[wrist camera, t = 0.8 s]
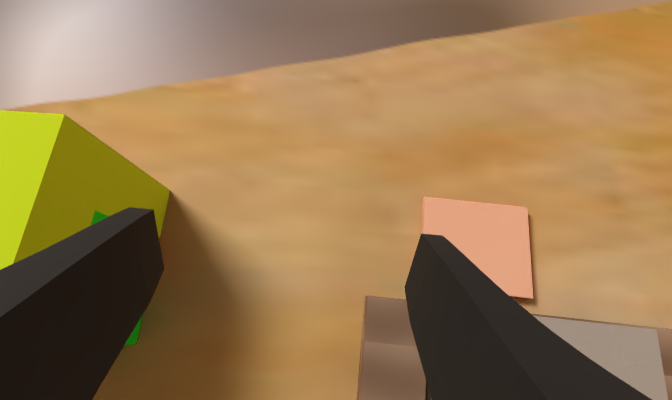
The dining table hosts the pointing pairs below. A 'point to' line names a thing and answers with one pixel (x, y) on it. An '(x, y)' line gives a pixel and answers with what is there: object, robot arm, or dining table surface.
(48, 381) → the robot arm
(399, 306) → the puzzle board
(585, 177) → the dining table surface
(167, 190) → the puzzle toy
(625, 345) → the sliding cover
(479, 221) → the terracotta tile
